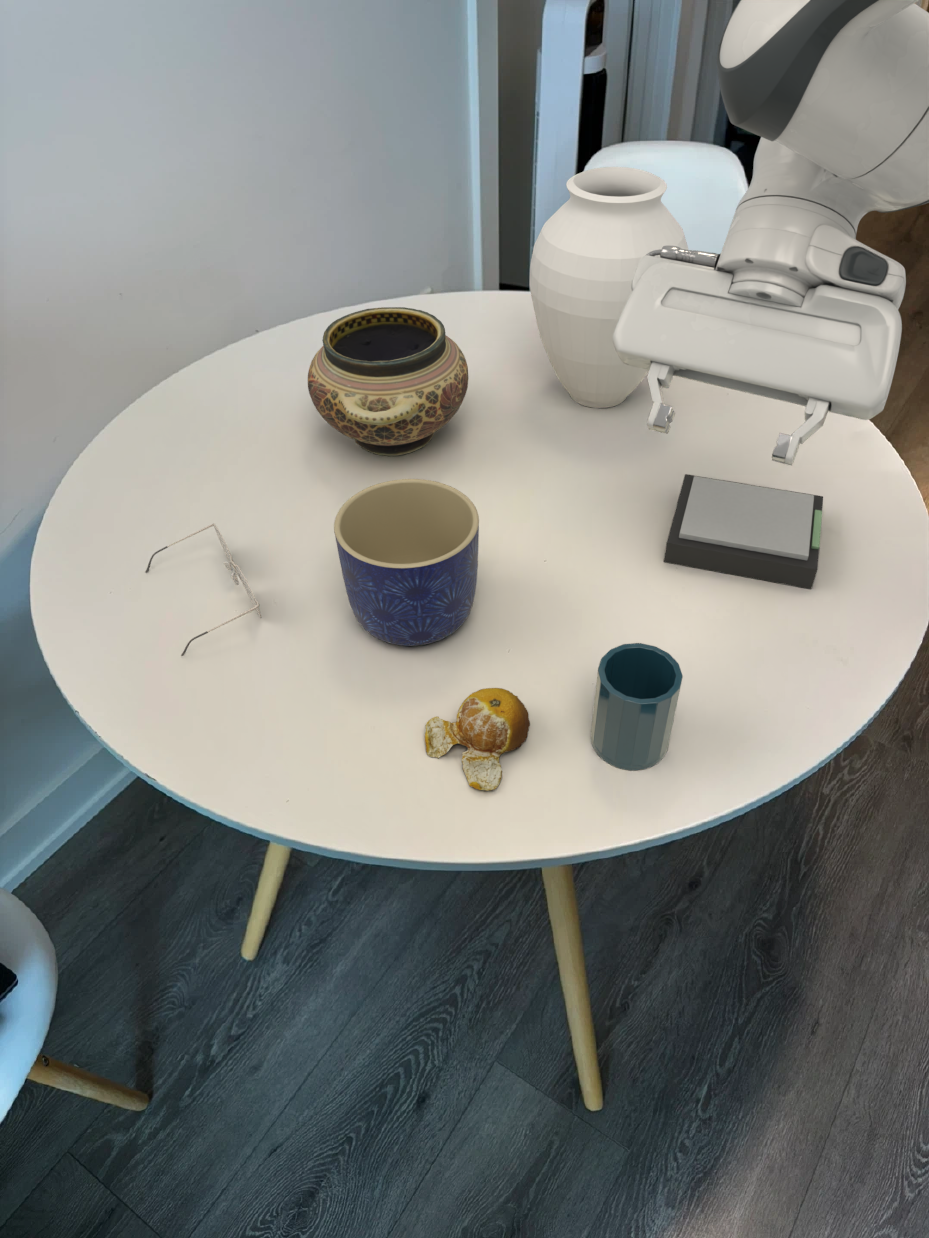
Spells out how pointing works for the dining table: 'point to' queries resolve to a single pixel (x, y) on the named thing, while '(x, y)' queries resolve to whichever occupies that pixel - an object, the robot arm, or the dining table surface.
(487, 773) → the fruit
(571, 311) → the vase
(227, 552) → the eyeglasses
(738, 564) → the scale
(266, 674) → the dining table surface
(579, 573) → the dining table surface
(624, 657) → the cup
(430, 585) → the planter
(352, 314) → the ceramic bowl
